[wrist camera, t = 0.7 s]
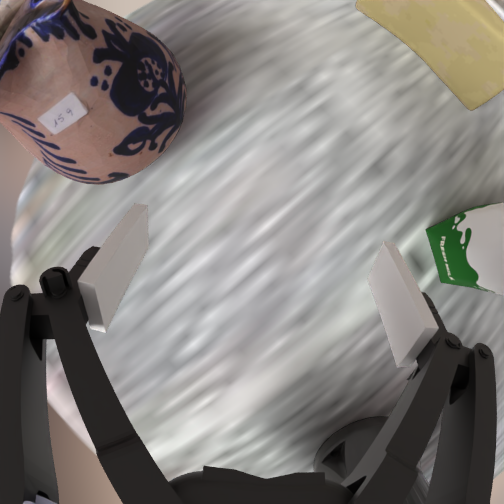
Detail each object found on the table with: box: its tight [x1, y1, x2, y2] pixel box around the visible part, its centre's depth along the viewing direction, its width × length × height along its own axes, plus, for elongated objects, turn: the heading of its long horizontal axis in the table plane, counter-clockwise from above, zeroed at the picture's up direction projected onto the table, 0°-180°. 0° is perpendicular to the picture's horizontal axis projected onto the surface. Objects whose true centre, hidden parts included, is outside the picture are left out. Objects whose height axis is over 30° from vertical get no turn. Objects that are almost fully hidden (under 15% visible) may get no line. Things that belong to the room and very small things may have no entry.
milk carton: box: [426, 202, 504, 296], centre depth 23 cm, size 9×9×20 cm
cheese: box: [356, 0, 504, 111], centre depth 25 cm, size 22×10×15 cm, turn 35°
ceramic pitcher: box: [0, 0, 187, 184], centre depth 23 cm, size 18×21×25 cm
